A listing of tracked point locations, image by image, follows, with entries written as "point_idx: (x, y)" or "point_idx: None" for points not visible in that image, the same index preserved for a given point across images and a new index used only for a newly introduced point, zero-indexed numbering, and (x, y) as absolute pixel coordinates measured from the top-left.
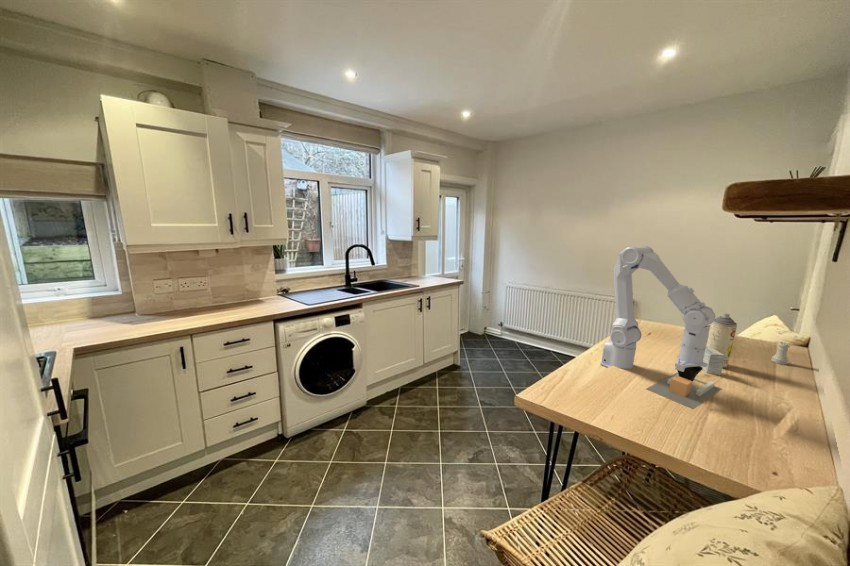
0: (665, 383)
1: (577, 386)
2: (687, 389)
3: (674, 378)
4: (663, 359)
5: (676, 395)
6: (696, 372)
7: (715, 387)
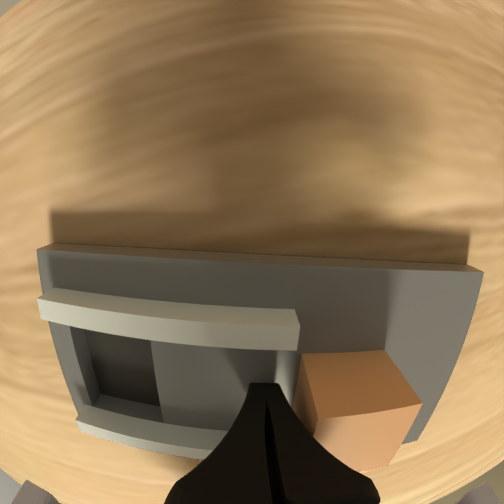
0: None
1: (464, 468)
2: (382, 378)
3: (370, 465)
4: (25, 437)
5: None
6: (371, 488)
7: (54, 278)
